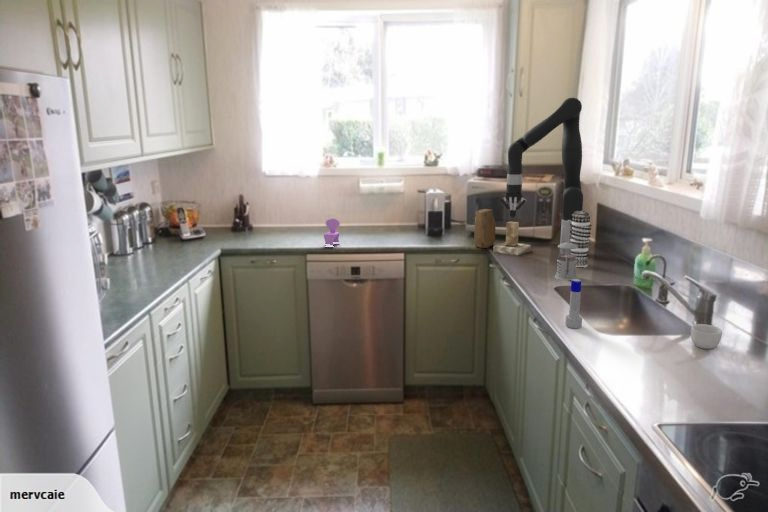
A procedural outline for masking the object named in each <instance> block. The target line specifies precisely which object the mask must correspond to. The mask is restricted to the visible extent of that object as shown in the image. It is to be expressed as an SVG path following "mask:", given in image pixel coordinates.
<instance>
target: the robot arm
mask: <svg viewBox="0 0 768 512" xmlns="http://www.w3.org/2000/svg"><path fill="white" fill-rule="evenodd" d="M582 106H583V105H582V102H581V100H579V98H576V97H568V98H566V99H565V100H564V101H563V102H562V103H561V105H560V106H559V107H558V108H557V109H556V110H555V111H554V112H553V113H552V114H550V115H549V116H548V117H547V118H545V119H544V120H542V121H541V122H538V123H537V124H536V125H535V126H533V127H532V128H531V129H529V130H528V131H527V132H525V133H524V134H523V136H521V137H519V138H518V139H517V140H515V141H514V142H512V143H511V144H510V145H509V146H508V148H507V174H506V189H505V190H506V192H505V195H504V197H503V198H501V199H500V201H501V202H502V204H503V205H504V207H505V208H506V210H507V209H508V210H509V217H510V218H514V219H515V217H516V216H517V210H520V209H521V208H522V207H523V205H524V204H525V203H526V202H527V199H526V198H524V197H523V194H522V192H523V191H522V189H523V163H522V161H523V154H524V152H526V151H527V150H528V149H530V148H531V147H532V146H534V145H536V144H537V143H538V142H540V141H541V140H542V139H544V138H545V137H546V136H548V135H549V134H550V133H551V132H553V131H554V130H555V129H556V128H557V127H559V126H560V125H561V124H562V127H563V128H562V140H561V162H562V171H563V174H564V175H563V176H564V178H563V179H564V181H563V182H564V183H563V194H562V206H561V207H562V209H561V210H562V211H561V225H560V226H561V227H560V242H559V245H560V244H562V243H566V242H568V232H569V243H571V241H570V235H571V233H570V231H571V230H570V227H572V226H571V225H569V223H567V221H568V220H571V221H572V218H573V215H572V214H574V212H575V211H583V204H584V194H583V191H582V185H581V184H582V183H581V172H582V163H583V143H582V136H581V132H580V131H581V130H580V115H581V111H582V110H583V109H582V108H583V107H582ZM520 202H521V203H520ZM518 203H520V204H519V205H518ZM570 224H572V223H570ZM569 250H570V249H568V254H569V253H570V252H569ZM566 252H567V249H561V248H559V254H566Z"/></svg>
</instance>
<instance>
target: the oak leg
mask: <svg viewBox="0 0 768 512" xmlns="http://www.w3.org/2000/svg"><path fill="white" fill-rule="evenodd" d="M519 226H520V222H519V221H508V222H506V227H505V229H506V230H505V231H506V232H505V242H506V246H508V247H517V246H518V243H519V230H520V229H519Z"/></svg>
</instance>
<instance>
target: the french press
mask: <svg viewBox="0 0 768 512" xmlns="http://www.w3.org/2000/svg"><path fill="white" fill-rule="evenodd" d="M567 223H569V225H570V223H572V221H571V220H568V221H567ZM557 248H558V249H560V248H561V249H567V252H566V254H561V253H559V254H558V257H557V260H556V262H557V263H556V265H557V266H556V268H557V269H556V274H555V275H554V276H555V278H556V279H555V278H554V279H555V280H558V279H560V280H559V281H562V280H572V279H577V277H578V276H577V268H576V267H575V266H576V265H577V264H576V262H577V259H576V255H574V254H571V252H570V254H568V249H576V248H578V246H577V245H576V244H573V243H569V232H568V242H566V243H562V244H560V243H559V244H558V245H557ZM574 264H575V265H574Z"/></svg>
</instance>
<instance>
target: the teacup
mask: <svg viewBox="0 0 768 512" xmlns="http://www.w3.org/2000/svg"><path fill="white" fill-rule="evenodd" d="M722 335H723V330H722V329H721V328H719V327H718V326H714V325H711V324H705V323H704V324H703V323H699V324H697V323H696V324H693V325H692V326H691V328H690V338H691V341H692V343H693V344H694V346H696V347H698V348H701V349H703V350H712V349H714V348H717V347H718V346H719V344H720V343H721V341H722Z"/></svg>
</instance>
